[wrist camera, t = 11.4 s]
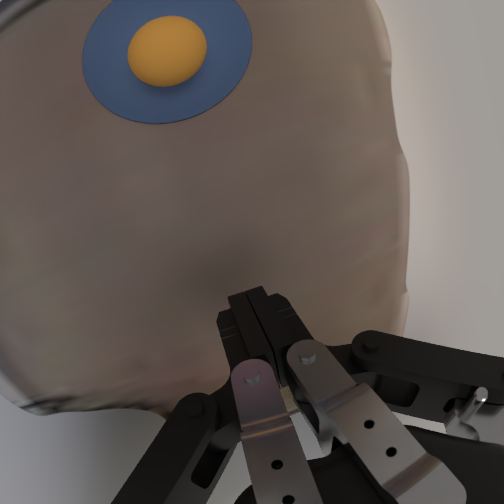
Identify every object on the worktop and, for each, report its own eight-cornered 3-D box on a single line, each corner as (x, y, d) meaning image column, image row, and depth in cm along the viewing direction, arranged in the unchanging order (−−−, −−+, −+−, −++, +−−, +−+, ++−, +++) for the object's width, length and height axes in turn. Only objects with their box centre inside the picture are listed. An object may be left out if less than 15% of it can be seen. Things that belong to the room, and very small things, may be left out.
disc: (76, 7, 12) (75, 6, 12) (235, -30, 14) (235, -31, 14) (100, 146, 19) (100, 147, 19) (265, 102, 21) (265, 102, 21)
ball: (121, 20, 13) (118, 44, 11) (195, 1, 14) (213, 20, 12) (135, 75, 18) (139, 110, 16) (200, 57, 19) (217, 89, 17)
